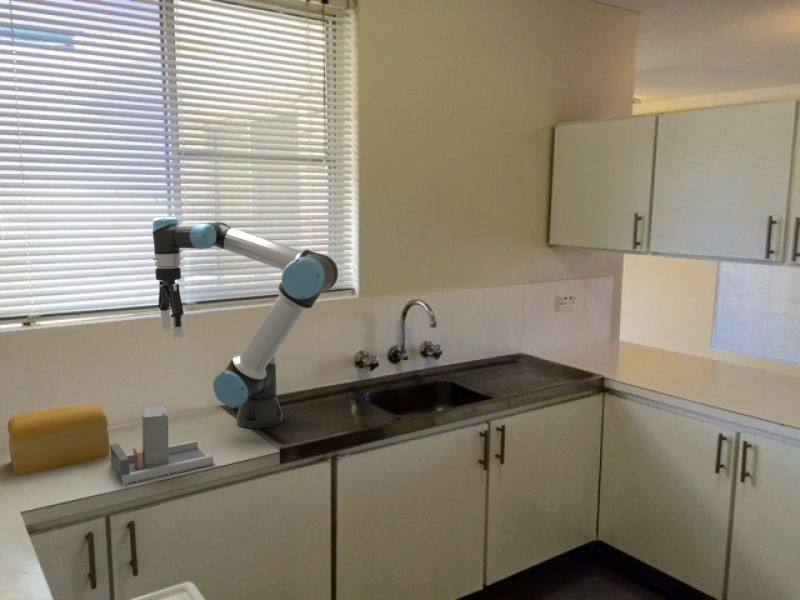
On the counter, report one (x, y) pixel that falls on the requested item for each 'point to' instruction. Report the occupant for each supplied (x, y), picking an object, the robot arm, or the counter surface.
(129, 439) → the counter surface
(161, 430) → the skincare box
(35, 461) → the bread
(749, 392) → the counter surface
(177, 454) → the lane
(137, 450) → the block
